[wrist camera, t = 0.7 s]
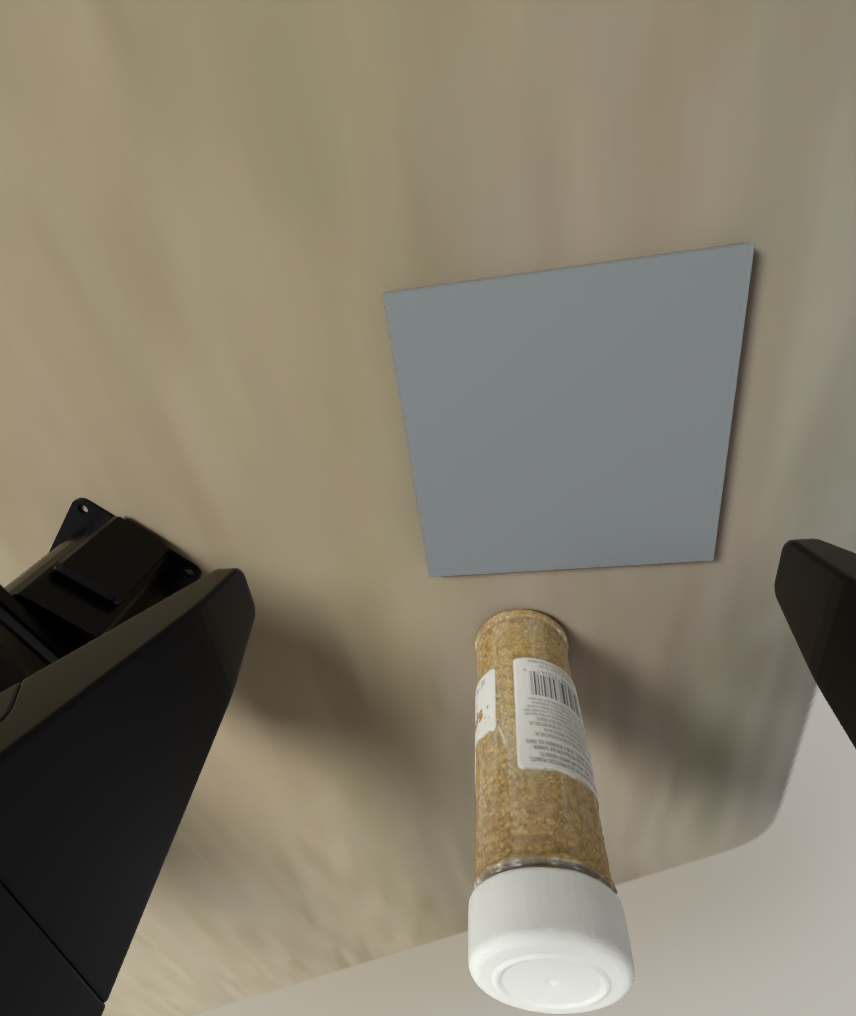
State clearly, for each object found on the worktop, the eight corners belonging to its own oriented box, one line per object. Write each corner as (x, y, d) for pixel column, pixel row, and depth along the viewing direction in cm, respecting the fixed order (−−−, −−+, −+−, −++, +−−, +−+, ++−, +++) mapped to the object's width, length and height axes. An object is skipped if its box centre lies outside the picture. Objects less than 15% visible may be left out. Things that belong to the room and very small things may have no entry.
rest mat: (708, 552, 23) (713, 560, 23) (430, 569, 25) (429, 577, 24) (746, 242, 18) (754, 243, 17) (385, 292, 19) (382, 294, 19)
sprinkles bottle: (455, 634, 27) (433, 968, 15) (532, 588, 25) (574, 926, 13) (512, 688, 28) (532, 1033, 16) (588, 649, 26) (671, 1003, 15)
